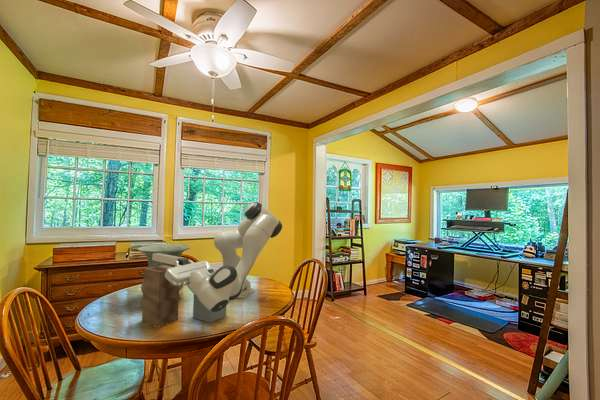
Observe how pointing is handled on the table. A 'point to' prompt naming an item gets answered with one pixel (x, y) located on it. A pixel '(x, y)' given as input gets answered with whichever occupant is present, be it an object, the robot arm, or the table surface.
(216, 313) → the slate block
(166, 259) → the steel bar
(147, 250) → the vessel
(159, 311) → the walnut pillar
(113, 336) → the table surface
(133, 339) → the table surface
